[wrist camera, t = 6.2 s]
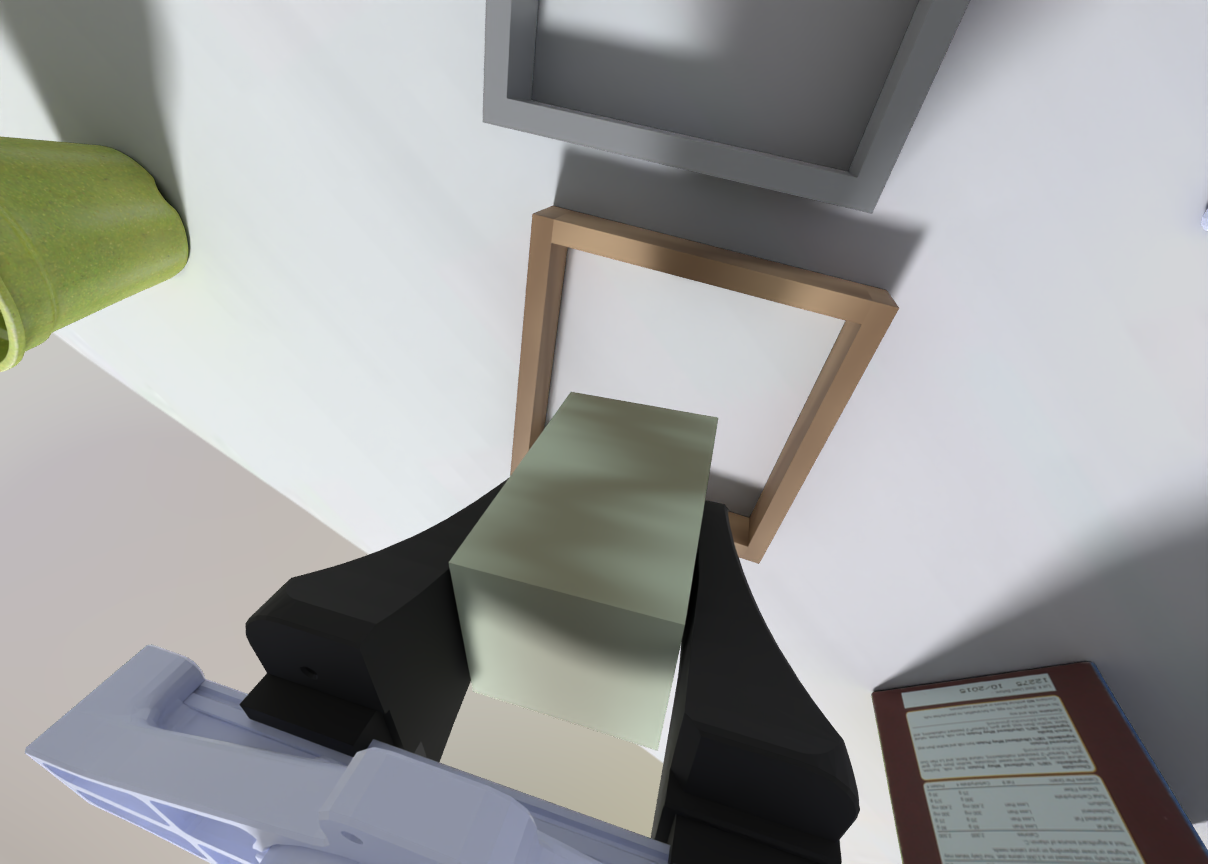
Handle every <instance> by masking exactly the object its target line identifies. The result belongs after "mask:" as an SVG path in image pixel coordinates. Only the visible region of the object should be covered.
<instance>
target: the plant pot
mask: <svg viewBox="0 0 1208 864" xmlns="http://www.w3.org/2000/svg"><path fill="white" fill-rule="evenodd" d="M187 259H188V242H187V237H186V233H185V229H184V226H183V224H182V221H181V219H180V216H179V214H178V212H177V211H176V210H175V209H174V208H173V207H172V206H171V205H169V204H168V203H167V202H166V201H165V199H164V198H163V197H162V195H161V194H160V192H159V191H158V189H157V187H156V184H155V180H154V178H153V177H152V176H151V175H150V174H149V173H148V172H147V171H146V170H145V169H144V168H143V167H142V166H141V165H139V164H138V163H137V162H136V161H134V160H133V159H131V158H130V157H128V156H127V155H125V154H123V153H121V152H119V151H117V150H115V149H112V148H109V147H105V146H101V145H89V144H78V143H67V142H56V141H44V140H33V139H21V138H10V137H0V372H3V371H6V370H8V369H10V368H12V367H14V366H16V365H17V364H18V363H19V362H20V361H21V360H22V358H23V355H24V353H25V351H27V350H29V349H31V348H34V347H36V346H37V345H40V344H41V343H43V342H44V341H46V340H47V339H48V338H49V336H50V335H51V333H52V332H54V331H56V330H58V329H61V328H63V327H65V326H67V325H69V324H71V323H73V322H76V321H78V320H80V319H82V318H84V317H86V316H88V315H90V314H93V313H95V312H97V311H99V310H101V309H103V308H105V307H108V306H110V305H112V304H114V303H116V302H118V301H121V300H123V299H125V298H127V297H129V296H132V295H134V294H136V293H138V292H141V291H143V290H145V289H147V288H150V287H152V286H154V285H157V284H159V283H161V282H163V281H166V280H168V279H170V278H172V277H173V276H175V275H176V274H178V273H179V272H180V271H181V270H182V269H183V268H184V267H185V265H186V263H187Z"/></svg>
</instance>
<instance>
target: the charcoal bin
mask: <svg viewBox="0 0 1208 864" xmlns="http://www.w3.org/2000/svg"><path fill="white" fill-rule="evenodd" d="M538 2H539V0H486V19H485V56H484V93H483V122H484V123H488V124H492V125H497V126H501V127H505V128H509V129H514V130H518V131H522V132H527V133H531V134H535V135H539V136H544V137H548V138H552V139H556V140H561V141H565V142H569V143H573V144H578V145H582V146H586V147H590V148H595V149H599V150H603V151H607V152H612V153H616V154H620V155H624V156H629V157H633V158H637V159H642V160H646V161H650V162H654V163H659V164H663V165H667V166H671V167H676V168H680V169H684V170H688V171H693V172H697V173H701V174H705V175H710V176H714V177H718V178H722V179H727V180H731V181H735V182H740V183H744V184H748V185H752V186H757V187H761V188H765V189H769V190H774V191H778V192H782V193H786V194H791V195H795V196H799V197H803V198H808V199H812V200H816V201H820V202H825V203H829V204H833V205H837V206H842V207H846V208H850V209H855V210H859V211H863V212H867V213H873V210H874V208H875V206H876V204H877V202H878V200H879V197H880V195H881V193H882V191H883V189H884V187H885V184H886V182H887V180H888V178H889V176H890V174H891V171H892V169H893V167H894V165H895V163H896V161H897V158H898V156H899V154H900V152H901V150H902V148H903V145H904V143H905V141H906V139H907V137H908V134H909V132H910V130H911V128H912V126H913V124H914V121H915V119H916V117H917V115H918V113H919V111H920V108H921V106H922V104H923V102H924V100H925V98H926V95H927V93H928V91H929V89H930V87H931V85H932V82H933V80H934V78H935V76H936V74H937V72H938V69H939V67H940V65H941V63H942V61H943V58H944V56H945V54H946V52H947V50H948V48H949V45H950V43H951V41H952V39H953V37H954V35H955V32H956V30H957V28H958V26H959V24H960V22H961V19H962V17H963V15H964V13H965V11H966V9H967V6H968V4H969V2H970V0H919V2H918V4H917V7H916V9H915V12H914V14H913V16H912V19H911V21H910V24H909V26H908V28H907V31H906V33H905V36H904V38H903V41H902V43H901V45H900V48H899V50H898V53H897V55H896V57H895V60H894V62H893V65H892V67H891V69H890V72H889V74H888V77H887V79H886V82H885V84H884V86H883V89H882V91H881V94H880V96H879V98H878V101H877V103H876V106H875V108H874V110H873V113H872V115H871V118H870V120H869V123H868V125H867V127H866V130H865V132H864V135H863V137H862V139H861V142H860V144H859V147H858V149H857V151H856V154H855V156H854V159H853V161H852V163H851V166H850V168H849V171H848V172H847V171H843V170H838V169H834V168H830V167H825V166H821V165H816V164H812V163H807V162H803V161H798V160H794V159H790V158H785V157H781V156H776V155H772V154H767V153H763V152H759V151H754V150H750V149H745V148H741V147H736V146H732V145H728V144H723V143H719V142H714V141H710V140H705V139H701V138H696V137H692V136H688V135H683V134H679V133H674V132H670V131H665V130H661V129H657V128H652V127H648V126H643V125H639V124H634V123H630V122H625V121H621V120H617V119H612V118H608V117H603V116H599V115H594V114H590V113H586V112H581V111H577V110H572V109H568V108H563V107H559V106H554V105H550V104H546V103H541V102H537V101H532V100H531V96H532V83H533V69H534V56H535V43H536V29H537V16H538Z"/></svg>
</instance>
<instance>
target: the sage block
mask: <svg viewBox="0 0 1208 864" xmlns="http://www.w3.org/2000/svg"><path fill="white" fill-rule="evenodd" d="M717 423H718V418H717V417H711V416H706V415H700V414H694V413H689V412H683V411H677V410H671V409H666V408H660V407H654V406H649V405H643V404H637V403H632V402H626V401H620V400H615V399H609V398H603V397H598V396H592V395H586V394H580V393H575V392H571V393H570V394H569V395H568V397H567V398H566V400H565V401H564V402H563V404H562V405H561V407H560V408H559V409H558V411H557V412H556V414H555V415H554V416H553V418H552V419H551V420H550V422H549V423H548V425H547V426H546V427H545V429H544V430H543V432H542V433H541V434H540V436H539V437H538V439H537V440H536V441H535V443H534V444H533V446H532V447H531V448H530V450H529V451H528V453H527V454H526V455H525V457H524V458H523V459H522V461H521V462H520V464H519V465H518V466H517V468H516V469H515V471H514V472H513V473H512V475H511V476H510V478H509V479H508V480H507V482H506V483H505V485H504V486H503V487H502V489H501V490H500V492H499V493H498V494H497V496H496V497H495V498H494V500H493V501H492V503H491V504H490V505H489V507H488V508H487V510H486V511H485V512H484V514H483V515H482V517H481V518H480V519H479V521H478V522H477V524H476V525H475V526H474V528H473V529H472V531H471V532H470V533H469V535H468V536H467V537H466V539H465V540H464V542H463V543H462V544H461V546H460V547H459V549H458V550H457V551H456V553H455V554H454V556H453V557H452V558H451V560H450V561H449V568H450V573H451V578H452V583H453V589H454V594H455V599H456V604H457V610H458V615H459V620H460V626H461V631H462V636H463V641H464V647H465V652H466V657H467V662H468V668H469V673H470V678H471V683H472V689H473V692H476V693H479V694H482V695H485V696H489V697H491V698H495V699H498V700H501V701H504V702H507V703H510V704H513V705H517V706H519V707H523V708H526V709H529V710H532V711H535V712H538V713H541V714H544V715H548V716H551V717H554V718H557V719H560V720H563V721H566V722H569V723H572V724H576V725H579V726H582V727H585V728H588V729H592V730H595V731H597V732H601V733H604V734H607V735H610V736H613V737H617V738H619V739H622V740H626V741H629V742H632V743H635V744H638V745H641V746H644V747H647V748H650V749H654V750H657V751H658V746H659V742H660V737H661V733H662V728H663V723H664V719H665V714H666V710H667V705H668V700H669V696H670V691H671V687H672V682H673V677H674V673H675V668H676V663H677V659H678V654H679V650H680V645H681V640H682V636H683V631H684V627H685V621H686V615H687V609H688V602H689V596H690V590H691V584H692V578H693V571H694V565H695V559H696V553H697V547H698V540H699V534H700V528H701V522H702V516H703V510H704V503H705V497H706V491H707V485H708V479H709V472H710V466H711V460H712V454H713V448H714V441H715V435H716V429H717Z"/></svg>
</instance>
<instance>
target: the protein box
mask: <svg viewBox="0 0 1208 864" xmlns="http://www.w3.org/2000/svg"><path fill="white" fill-rule="evenodd" d="M871 696H872V702H873V707H874V712H875V718H876V723H877V728H878V734H879V739H880V745H881V750H882V756H883V761H884V766H885V772H886V777H887V783H888V789H889V794H890V799H891V804H892V809H893V814H894V820H895V826H896V832H897V837H898V843H899V848H900V853H901V859H902V864H1208V850H1207V848H1206V847H1205V845H1204V843H1203V842H1202V840H1201V838H1200V837H1199V835H1198V833H1197V832H1196V830H1195V829H1194V827H1193V825H1192V824H1191V822H1190V820H1189V819H1188V817H1187V815H1186V814H1185V812H1184V811H1183V809H1182V807H1181V806H1180V804H1179V802H1178V801H1177V799H1176V797H1175V796H1174V794H1173V792H1172V791H1171V789H1170V788H1169V786H1168V784H1167V783H1166V781H1165V779H1164V778H1163V776H1162V774H1161V773H1160V771H1159V770H1158V768H1157V766H1156V765H1155V763H1154V761H1153V760H1152V758H1151V757H1150V755H1149V753H1148V752H1147V750H1146V748H1145V747H1144V745H1143V743H1142V742H1141V740H1140V739H1139V737H1138V735H1137V734H1136V732H1135V730H1134V729H1133V727H1132V725H1131V724H1130V722H1129V721H1128V719H1127V717H1126V716H1125V714H1124V712H1123V711H1122V709H1121V707H1120V706H1119V704H1118V702H1117V701H1116V699H1115V697H1114V696H1113V694H1112V692H1111V690H1110V689H1109V687H1108V685H1107V684H1106V682H1105V680H1104V679H1103V677H1102V675H1101V673H1100V672H1099V670H1098V668H1097V667H1096V665H1095V664H1094V663H1092V662H1079V663H1072V664H1067V665H1058V666H1052V667H1045V668H1038V669H1031V670H1023V671H1017V672H1011V673H1004V674H997V675H990V676H983V677H976V678H969V679H962V680H956V681H949V682H941V683H934V684H928V685H919V686H914V687H906V688H899V689H893V690H886V691H877V692H873V693H872V694H871Z"/></svg>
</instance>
